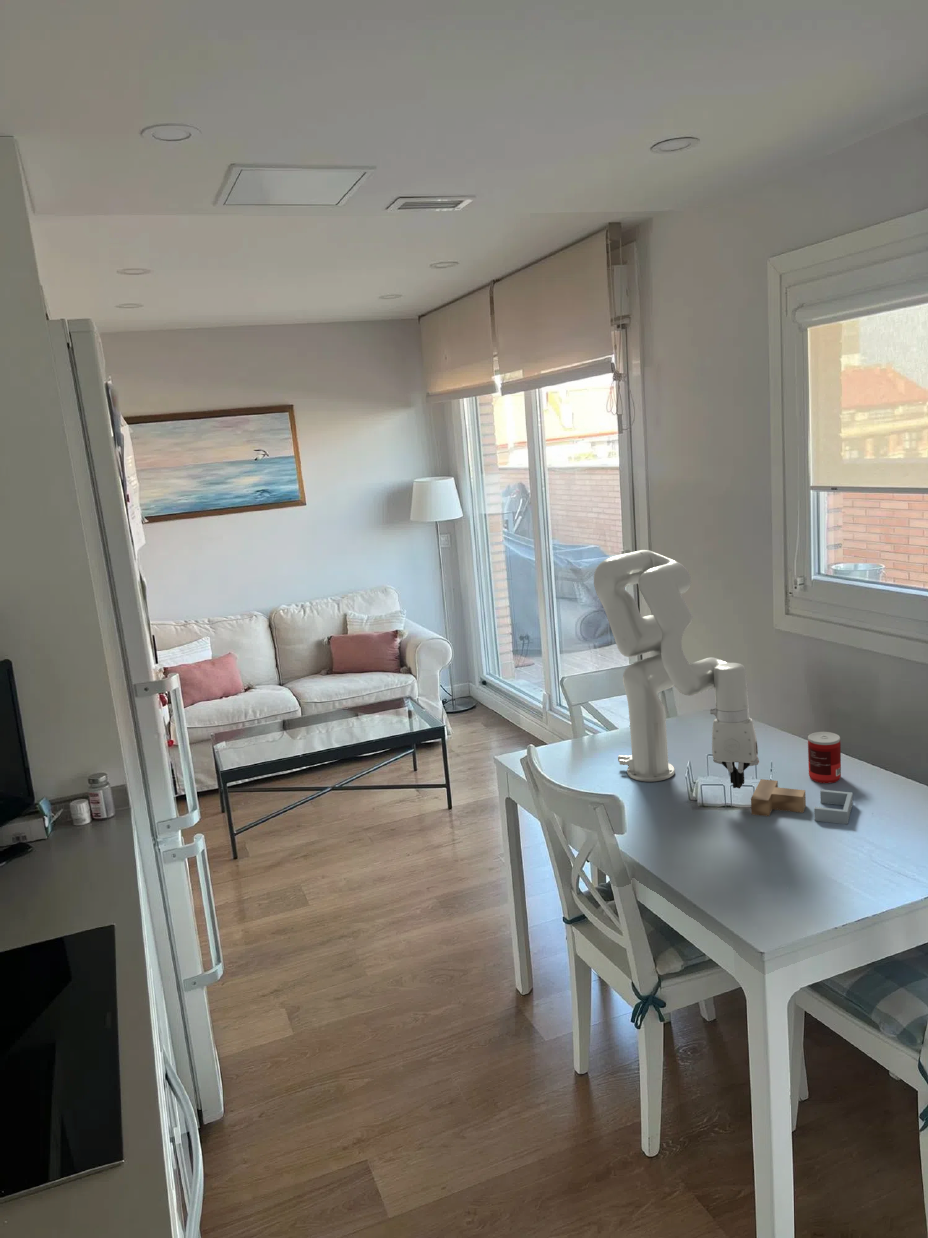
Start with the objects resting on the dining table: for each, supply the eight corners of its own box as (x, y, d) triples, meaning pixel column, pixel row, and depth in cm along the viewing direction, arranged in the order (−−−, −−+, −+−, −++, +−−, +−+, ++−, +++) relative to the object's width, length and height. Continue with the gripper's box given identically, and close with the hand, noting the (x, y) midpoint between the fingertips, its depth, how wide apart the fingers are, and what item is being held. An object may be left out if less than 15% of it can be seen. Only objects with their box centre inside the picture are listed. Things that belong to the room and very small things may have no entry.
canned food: (835, 770, 231) (834, 730, 229) (845, 783, 224) (844, 741, 221) (804, 772, 232) (803, 732, 230) (813, 784, 225) (812, 743, 222)
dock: (814, 820, 206) (814, 808, 205) (821, 801, 215) (820, 789, 215) (847, 824, 203) (847, 812, 202) (852, 804, 212) (852, 792, 211)
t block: (751, 814, 212) (750, 798, 212) (761, 794, 223) (760, 779, 222) (800, 820, 207) (800, 804, 206) (808, 799, 217) (807, 783, 216)
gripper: (697, 718, 215) (703, 789, 219) (761, 720, 208) (766, 794, 211) (705, 708, 222) (710, 778, 225) (767, 710, 214) (772, 782, 218)
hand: (737, 786), depth 218 cm, fingers closed
